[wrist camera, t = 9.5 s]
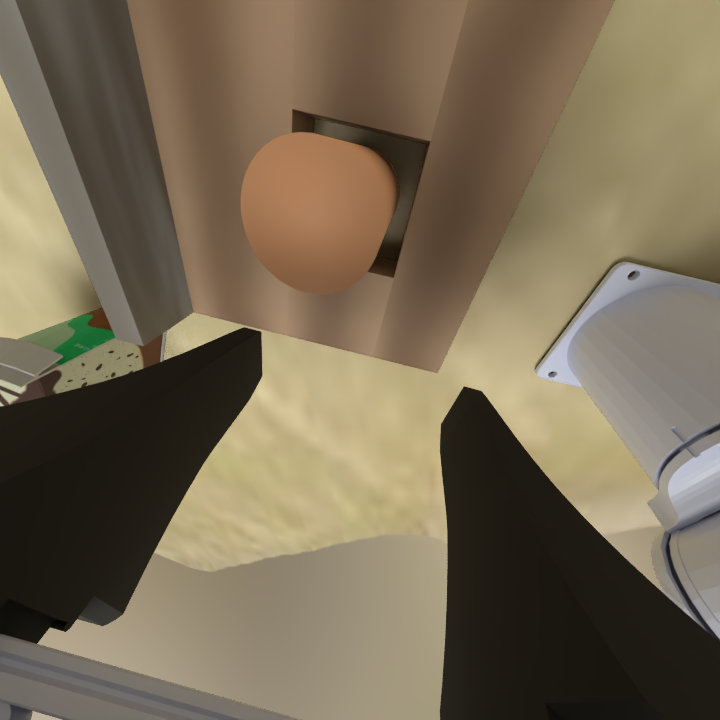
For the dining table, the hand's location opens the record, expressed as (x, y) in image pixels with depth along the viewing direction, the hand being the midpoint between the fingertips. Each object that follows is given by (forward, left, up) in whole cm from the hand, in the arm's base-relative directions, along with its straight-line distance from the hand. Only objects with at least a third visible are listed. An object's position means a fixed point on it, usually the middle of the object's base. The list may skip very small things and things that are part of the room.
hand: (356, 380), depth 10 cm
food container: (+20, +10, -10) cm, 24 cm away
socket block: (+4, -4, -10) cm, 11 cm away
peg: (+2, -4, -10) cm, 11 cm away
